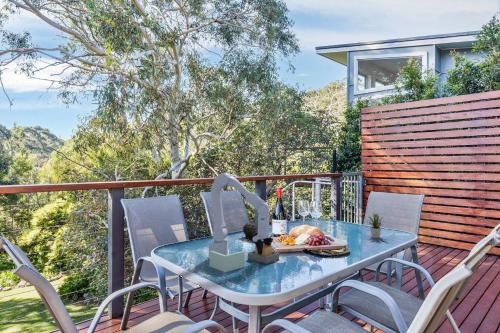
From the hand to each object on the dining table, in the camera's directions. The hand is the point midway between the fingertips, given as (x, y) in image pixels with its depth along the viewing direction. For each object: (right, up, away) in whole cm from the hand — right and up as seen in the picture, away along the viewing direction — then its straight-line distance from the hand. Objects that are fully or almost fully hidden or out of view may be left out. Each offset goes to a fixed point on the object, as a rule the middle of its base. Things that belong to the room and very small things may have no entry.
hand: (263, 253), depth 180 cm
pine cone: (-4, -2, +46) cm, 46 cm away
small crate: (0, -1, 0) cm, 1 cm away
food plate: (+36, -4, +17) cm, 40 cm away
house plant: (+75, -2, +52) cm, 91 cm away
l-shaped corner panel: (-18, -4, -11) cm, 21 cm away
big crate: (0, -3, 0) cm, 3 cm away
